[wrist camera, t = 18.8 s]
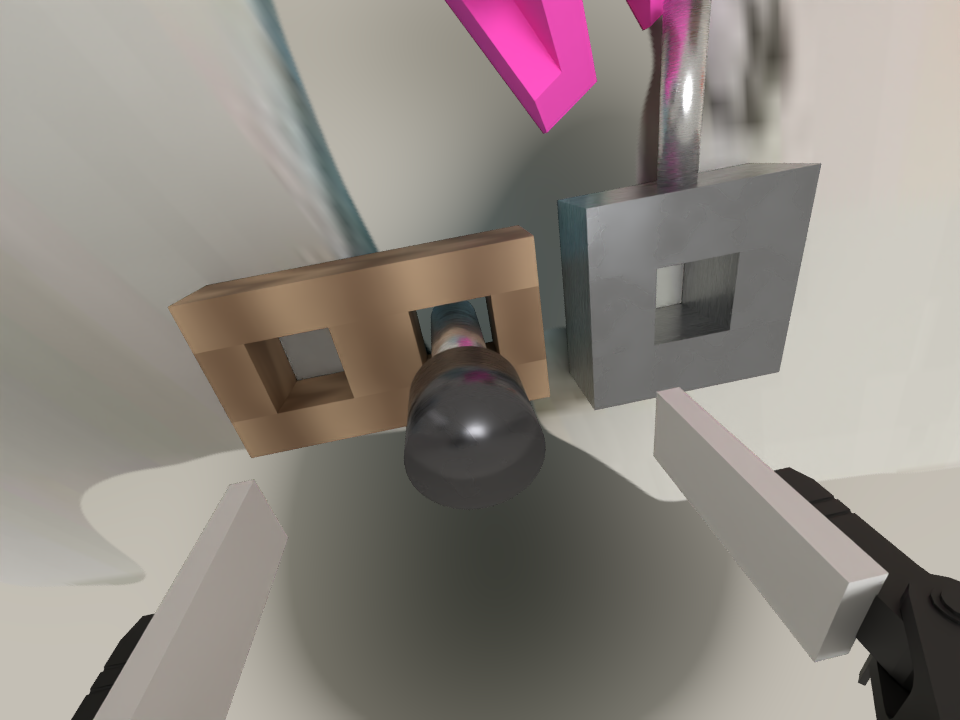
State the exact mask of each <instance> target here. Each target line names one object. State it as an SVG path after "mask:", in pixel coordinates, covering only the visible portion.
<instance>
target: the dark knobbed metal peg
mask: <svg viewBox="0 0 960 720" xmlns="http://www.w3.org/2000/svg"><path fill="white" fill-rule="evenodd" d="M431 342H432V343H431V350H432V358H430V359H429V360H427V361H426V362H425V363H424V364H423V365H422V366H421V368H420V369H419V370H418V371H417V373H416V375H415V376H414V378H413V381H412V383H411V386H410V391H409V402H408V414H407V426H406V438H405V450H404V465H405V469H406V473H407V475H408V477H409V479H410V481H411V482H412V484H413V485H414V487H415V488H416V489H417V490H418V491H419V492H420V493H421V494H423V495H424V496H425V497H427V498H428V499H430V500H432V501H434V502H436V503H438V504H440V505H443V506H447V507H451V508H456V509H480V508H487V507H490V506H494V505H498V504H500V503H503V502H505V501H507V500H509V499H511V498H513V497H514V496H516V495H518V494H519V493H520V492H522V491H523V490H524V489H525V488H526V487H527V486H528V485H530V484H531V482H532V481H533V480H534V479H535V477H536V476H537V474H538V473H539V471H540V469H541V467H542V464H543V461H544V457H545V450H546V449H545V439H544V435H543V432H542V429H541V427H540V425H539V422H538V420H537V417H536V415H535V413H534V410H533V408H532V406H531V403H530V401H529V399H528V396H527V394H526V391H525V389H524V387H523V384H522V382H521V380H520V377H519V375H518V373H517V371H516V369H515V368H514V367H513V365H512V364H511V363H510V362H509V361H508V360H507V359H506V358H504V357H503V356H502V355H500V354H498V353H496V352H494V351H492V350H489V349H487V348H486V344H485V341H484V338H483V335H482V332H481V328H480V325H479V322H478V319H477V316H476V312H475V310H474V308H473V306H472V305H471V304H470V303H469V302H468V301H467V300H465V301H460V302H455V303H449V304H444V305H439V306H435V307H434V309H433V311H432V314H431Z"/></svg>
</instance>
